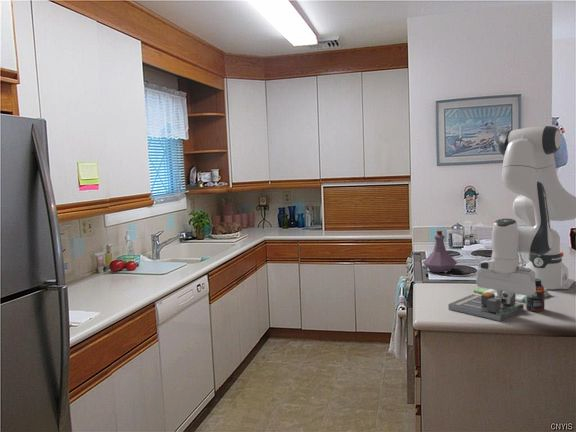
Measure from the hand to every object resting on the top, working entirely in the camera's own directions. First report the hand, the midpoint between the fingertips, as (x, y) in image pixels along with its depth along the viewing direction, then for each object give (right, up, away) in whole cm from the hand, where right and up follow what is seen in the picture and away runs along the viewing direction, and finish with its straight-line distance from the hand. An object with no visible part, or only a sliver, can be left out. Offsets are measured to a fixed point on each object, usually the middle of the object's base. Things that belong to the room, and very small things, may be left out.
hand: (505, 303), depth 172 cm
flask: (-2, +4, +67) cm, 67 cm away
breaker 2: (+3, -1, +5) cm, 6 cm away
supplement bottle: (+12, -3, +3) cm, 13 cm away
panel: (-4, -4, +6) cm, 8 cm away
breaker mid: (-4, -1, +5) cm, 7 cm away
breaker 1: (-5, -2, -2) cm, 6 cm away
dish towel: (+13, -1, +24) cm, 27 cm away
